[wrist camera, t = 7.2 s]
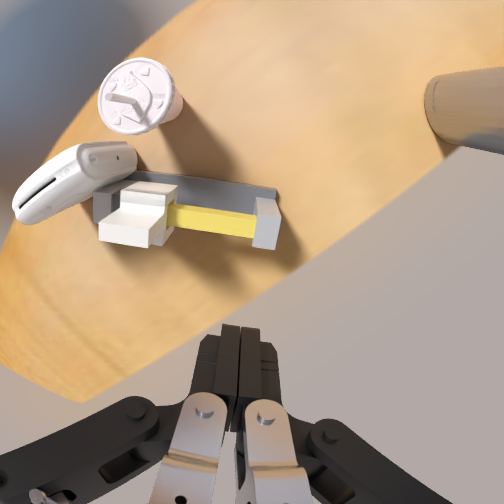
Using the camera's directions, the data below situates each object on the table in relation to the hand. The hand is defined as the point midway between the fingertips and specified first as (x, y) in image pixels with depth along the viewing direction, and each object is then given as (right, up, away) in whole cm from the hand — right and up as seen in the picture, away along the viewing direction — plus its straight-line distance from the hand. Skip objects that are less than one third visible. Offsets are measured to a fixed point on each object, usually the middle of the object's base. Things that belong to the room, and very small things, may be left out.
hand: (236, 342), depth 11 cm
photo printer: (-17, +13, +18) cm, 28 cm away
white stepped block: (-9, +8, +15) cm, 19 cm away
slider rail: (-6, +9, +19) cm, 22 cm away
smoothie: (-8, +19, +15) cm, 26 cm away
